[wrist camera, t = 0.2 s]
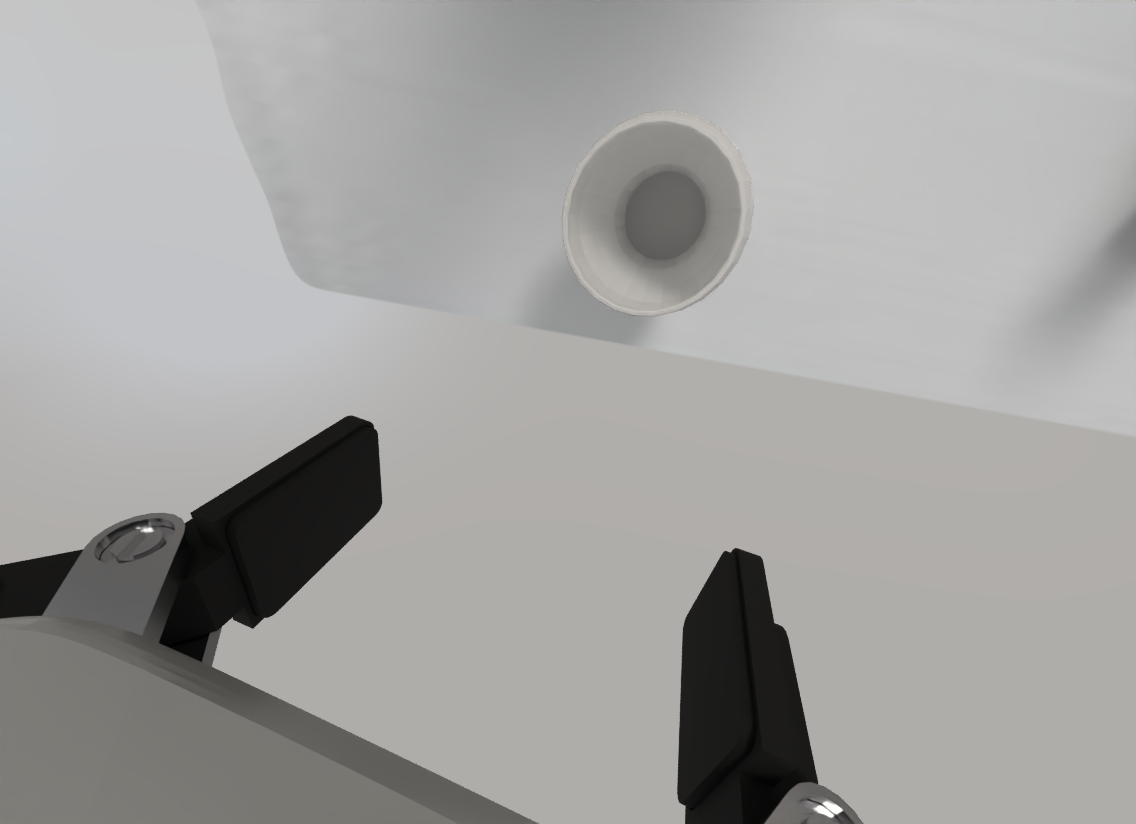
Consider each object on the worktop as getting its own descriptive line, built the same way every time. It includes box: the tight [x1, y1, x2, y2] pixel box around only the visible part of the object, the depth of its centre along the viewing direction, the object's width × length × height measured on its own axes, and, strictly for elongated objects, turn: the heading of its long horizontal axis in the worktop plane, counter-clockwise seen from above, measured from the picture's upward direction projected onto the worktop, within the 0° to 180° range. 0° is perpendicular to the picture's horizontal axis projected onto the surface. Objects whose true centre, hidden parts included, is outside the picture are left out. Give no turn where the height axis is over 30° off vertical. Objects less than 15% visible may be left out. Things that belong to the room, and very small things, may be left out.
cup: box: [562, 110, 754, 316], centre depth 27 cm, size 11×11×15 cm
